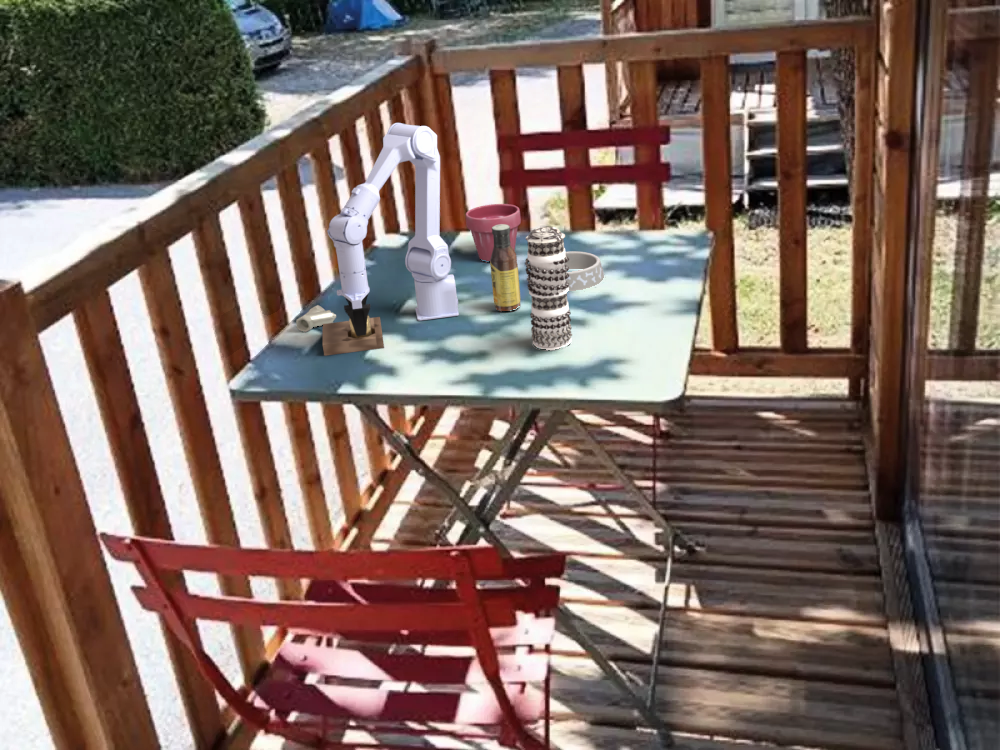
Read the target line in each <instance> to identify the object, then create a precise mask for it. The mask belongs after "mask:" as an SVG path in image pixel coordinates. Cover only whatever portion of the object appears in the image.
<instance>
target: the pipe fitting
mask: <svg viewBox="0 0 1000 750" xmlns="http://www.w3.org/2000/svg"><path fill="white" fill-rule="evenodd" d="M336 318H337V314H335V313H334V312H332V311H331V310H330V309H329V310H325V309H324V308H323V307H322V306H320V305H319V304H317V305H315V306H313V307H311V308H310V309H308V311H307V312H306V313H305V314H304V315H302V316H300V317H298V318H297V319H296V322H295V323H296V324H295V325H296V328H297V330H299V331H300V332H302V331H304V332H303V333H306V332H308V331H311V330H312V329H313V327H314V328H318V327H317V326H319V327H323V326H322V325H323V324H328V323H334V321H335V320H336Z"/></svg>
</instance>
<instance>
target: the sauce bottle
mask: <svg viewBox="0 0 1000 750" xmlns="http://www.w3.org/2000/svg"><path fill="white" fill-rule="evenodd" d="M492 234H493V239H494V247H493V251H492V255H491V259H490V263H489V265H490V276H491V286H492V297H493V303H494V307H495V310H496V311H498V310H499V311H498V312H502V311H510V310H513V309H516V308H517V307H518V306H520V307H521V289H520V277H519V265H518V258H517V257H518V256H517V253H516V250H515V251H514V249H513V248H512V247H511V245H510V244H511V242H510V226H509V225H505V224H500V225H496V226H493V227H492ZM510 312H511V311H510Z"/></svg>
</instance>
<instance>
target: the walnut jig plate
mask: <svg viewBox="0 0 1000 750" xmlns="http://www.w3.org/2000/svg"><path fill="white" fill-rule="evenodd" d="M369 318H370V325H371V332H372V335H371V336H369V337H362V338H352V335H351V328H350V321H349V320H345V321H344V320H343V321H336V322H333V323H328V324H323V326H322V349H323V356H326V357H327V356H332V355H341V354H349V353H356V352H363V351H364V352H365V351H371V350H377V349H379V350H380V349H384V348H385V343H384V338H383V331H382V323H381V322H382V321H381V317H380V316H377V317H369Z"/></svg>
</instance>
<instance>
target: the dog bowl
mask: <svg viewBox="0 0 1000 750" xmlns="http://www.w3.org/2000/svg"><path fill="white" fill-rule="evenodd" d="M565 252H566V253H565V256H567V257H568V258H569V261H568V262H566V263H564V264H565V265H566V266H568V267H569V269H583V270H578V271H572V272H566V273H568V274H569V277H568V278H567V279H566V280H565V281H566V282H568V283H569V286H568V287H569V291H576V290H583V289H586V288H590V287H592V286H595V285H597V284H599V283H600V282H601V281H602V280H603V278H604V275H605V272H604V269H603V266H602V262H601V259H600V258H599V256H597V254H593V253H590V252H585V251H572V250H571V251H565Z"/></svg>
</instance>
